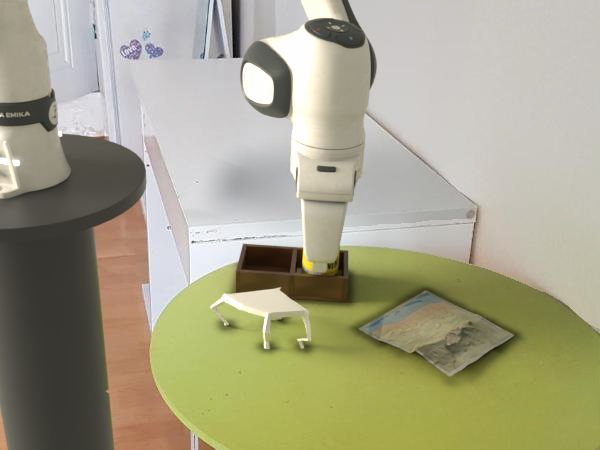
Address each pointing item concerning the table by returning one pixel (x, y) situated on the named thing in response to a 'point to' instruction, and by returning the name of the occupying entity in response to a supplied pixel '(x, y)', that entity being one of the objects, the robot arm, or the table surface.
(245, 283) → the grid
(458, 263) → the table surface
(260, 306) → the origami figure
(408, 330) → the topographic map
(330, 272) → the supplement bottle
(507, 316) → the table surface
